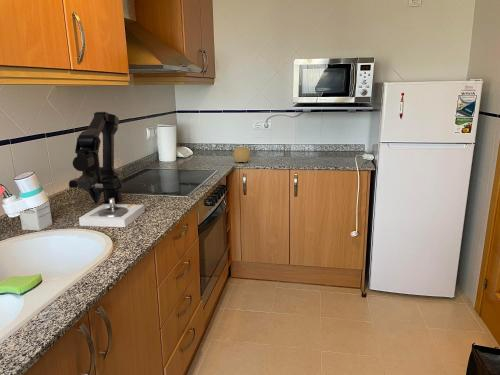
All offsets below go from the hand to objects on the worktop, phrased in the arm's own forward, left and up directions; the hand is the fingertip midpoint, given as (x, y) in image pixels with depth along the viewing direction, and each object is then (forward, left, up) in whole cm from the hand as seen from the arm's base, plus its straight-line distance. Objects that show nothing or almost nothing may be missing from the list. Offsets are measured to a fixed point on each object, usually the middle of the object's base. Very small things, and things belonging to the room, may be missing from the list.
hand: (96, 203), depth 153 cm
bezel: (+9, -4, -5) cm, 11 cm away
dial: (+9, -4, -3) cm, 10 cm away
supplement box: (-15, -16, -5) cm, 23 cm away
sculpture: (+41, +115, -5) cm, 122 cm away
